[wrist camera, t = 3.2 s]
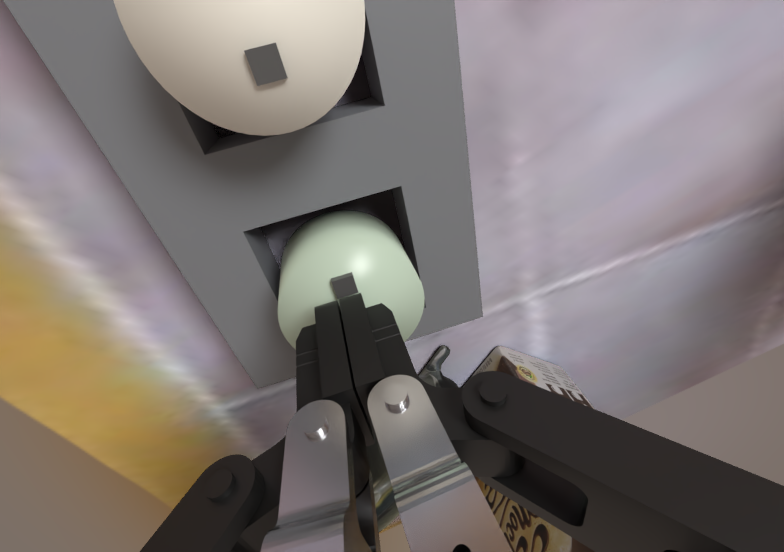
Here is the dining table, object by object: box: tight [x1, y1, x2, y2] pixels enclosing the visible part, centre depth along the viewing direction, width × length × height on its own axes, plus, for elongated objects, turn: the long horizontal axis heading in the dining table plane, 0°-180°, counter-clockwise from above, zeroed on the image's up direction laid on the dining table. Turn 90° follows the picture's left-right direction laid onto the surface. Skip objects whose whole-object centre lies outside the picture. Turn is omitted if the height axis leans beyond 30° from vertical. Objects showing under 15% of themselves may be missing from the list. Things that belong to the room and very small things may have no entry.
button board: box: [3, 0, 483, 389], centre depth 11 cm, size 26×11×2 cm, turn 13°
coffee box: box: [463, 346, 595, 552], centre depth 19 cm, size 9×6×16 cm
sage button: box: [278, 210, 425, 349], centre depth 14 cm, size 5×5×3 cm
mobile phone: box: [366, 345, 458, 532], centre depth 22 cm, size 5×3×15 cm
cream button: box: [113, 0, 365, 136], centre depth 9 cm, size 5×5×3 cm
